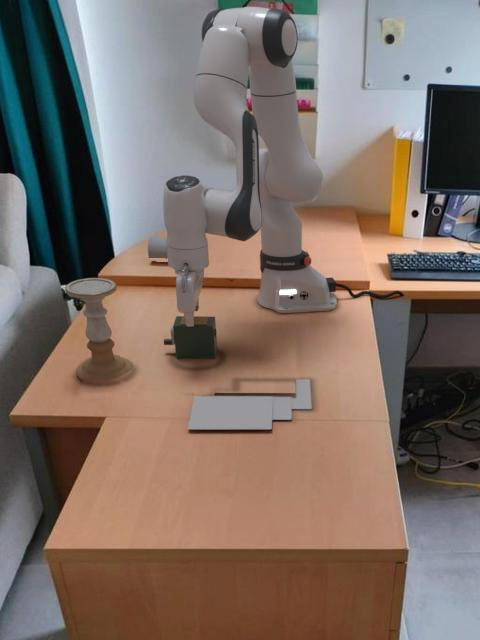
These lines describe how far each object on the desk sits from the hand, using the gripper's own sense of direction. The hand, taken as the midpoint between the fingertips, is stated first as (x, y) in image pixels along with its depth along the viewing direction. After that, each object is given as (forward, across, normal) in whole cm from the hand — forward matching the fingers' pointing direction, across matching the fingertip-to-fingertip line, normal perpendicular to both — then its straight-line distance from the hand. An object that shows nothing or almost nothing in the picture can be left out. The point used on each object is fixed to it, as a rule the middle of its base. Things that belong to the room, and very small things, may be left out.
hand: (192, 317), depth 165 cm
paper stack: (+10, -23, -14) cm, 29 cm away
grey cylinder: (+10, +72, +18) cm, 75 cm away
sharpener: (+9, 0, +1) cm, 9 cm away
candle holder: (+11, -8, +20) cm, 24 cm away
